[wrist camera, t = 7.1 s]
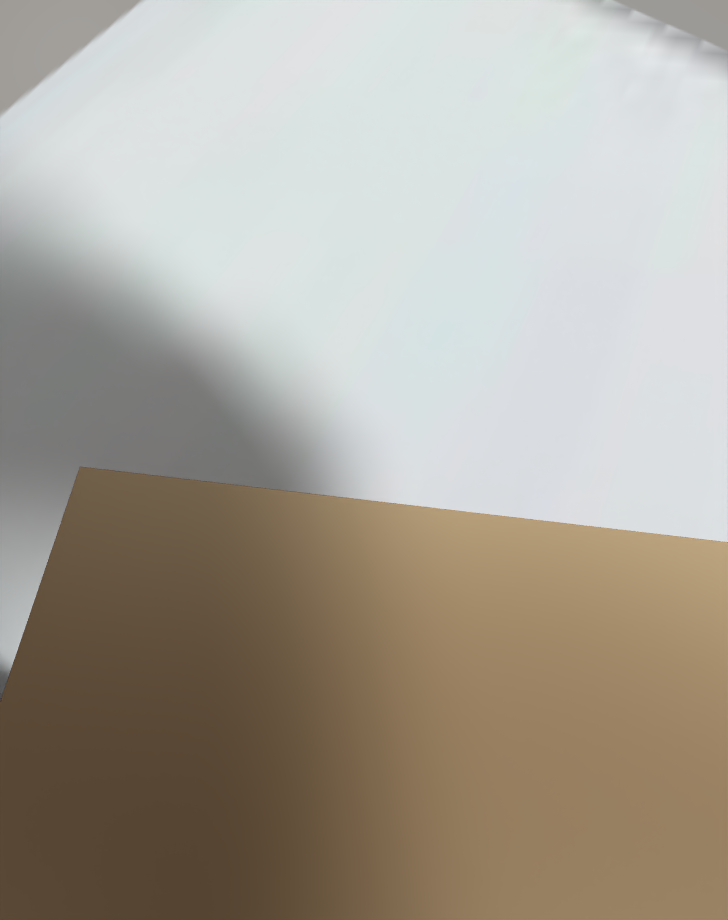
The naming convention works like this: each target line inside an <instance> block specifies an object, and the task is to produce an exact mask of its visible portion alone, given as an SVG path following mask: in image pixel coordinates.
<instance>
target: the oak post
mask: <svg viewBox="0 0 728 920" xmlns="http://www.w3.org/2000/svg"><path fill="white" fill-rule="evenodd" d="M0 920H728V542H721V541H713V540H704V539H696V538H687V537H679V536H670V535H661V534H653V533H644V532H636V531H627V530H618V529H610V528H601V527H593V526H584V525H576V524H567V523H558V522H550V521H541V520H533V519H524V518H516V517H507V516H498V515H490V514H481V513H473V512H464V511H456V510H447V509H438V508H430V507H421V506H413V505H404V504H396V503H387V502H378V501H370V500H361V499H353V498H344V497H336V496H327V495H318V494H310V493H301V492H293V491H284V490H275V489H267V488H258V487H250V486H241V485H233V484H224V483H215V482H207V481H198V480H190V479H181V478H173V477H164V476H155V475H147V474H138V473H130V472H121V471H113V470H104V469H95V468H87V467H80V468H79V471H78V474H77V477H76V480H75V483H74V486H73V489H72V492H71V494H70V497H69V500H68V503H67V506H66V509H65V512H64V515H63V518H62V521H61V524H60V527H59V530H58V533H57V536H56V539H55V542H54V545H53V548H52V550H51V553H50V556H49V559H48V562H47V565H46V568H45V571H44V574H43V577H42V580H41V583H40V586H39V589H38V592H37V595H36V598H35V601H34V604H33V606H32V609H31V612H30V615H29V618H28V621H27V624H26V627H25V630H24V633H23V636H22V639H21V642H20V645H19V648H18V651H17V654H16V657H15V660H14V662H13V665H12V668H11V671H10V674H9V677H8V680H7V683H6V686H5V689H4V692H3V695H2V698H1V701H0Z"/></svg>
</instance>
